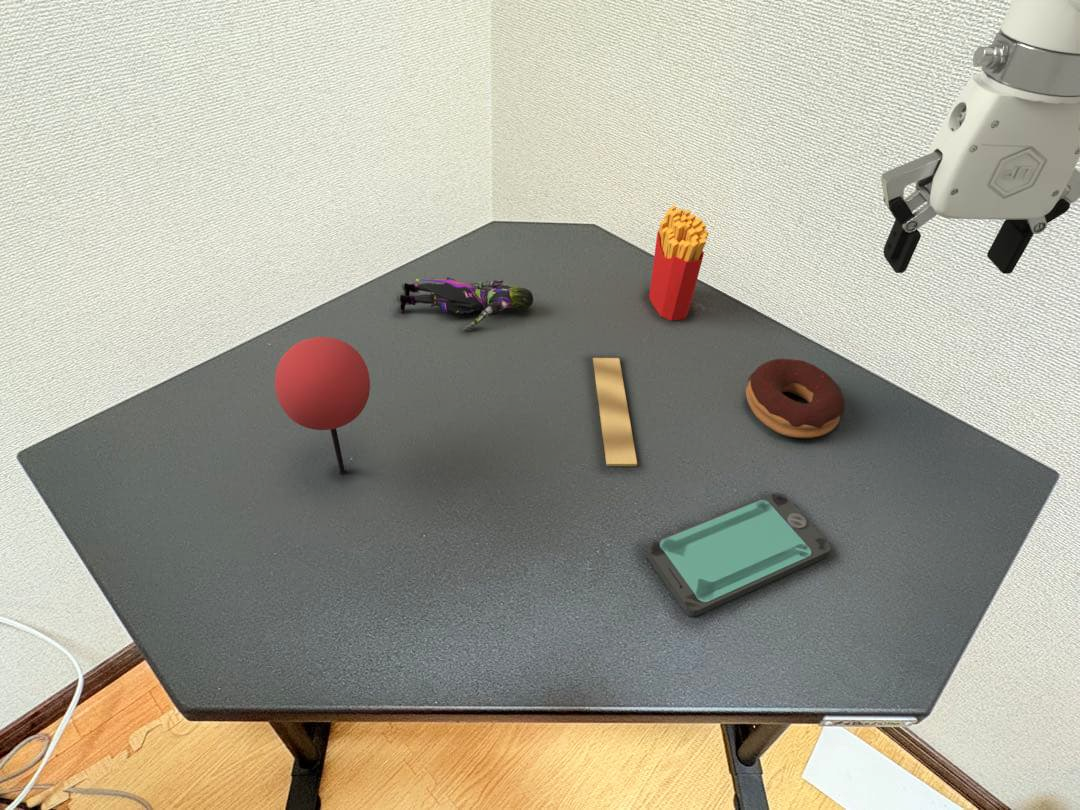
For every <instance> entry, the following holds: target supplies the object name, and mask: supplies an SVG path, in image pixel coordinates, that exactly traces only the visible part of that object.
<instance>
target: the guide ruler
mask: <svg viewBox="0 0 1080 810" xmlns="http://www.w3.org/2000/svg"><path fill="white" fill-rule="evenodd" d="M592 367H593V373H594V381H595V382H594V383H595V390H596V397H597V404H598V413H599V419H600V427H601V435H602V437H601V438H602V443H603V451H604V458H605V466H606V467H638V460H637V454H636V448H635V442H634V436H633V431H632V425H631V419H630V413H629V407H628V401H627V395H626V390H625V389H626V388H625V383H624V378H623V371H622V366H621V360H620V358H619V357H592Z"/></svg>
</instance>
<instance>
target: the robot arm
mask: <svg viewBox="0 0 1080 810" xmlns="http://www.w3.org/2000/svg"><path fill="white" fill-rule="evenodd" d="M972 65H973V66H974V67H981V71H980V73H975V74H972V75H971V77H970V78H969V80H968V82H967V83H966V84H965V85H964V87H963V88H962V90H961V92H960V93H959V95H958V96H957V97H956V99H955V101H954V102H953V104H952V105H951V107H950V109H949V111H948V113H947V114H946V116H945V118H944V120H943V122H941V125H940V127H939V129H938V131H937V133H936V134H935V137H934V139H933V141H932V143H931V145H930V147H929V148H928V151H927V154H926V155H924V156H921V157H919V158H916V159H913V160H912V161H909V162H906V163H904V164H902V165H899V166H896V167H894V168H891V169H889V170H887V171H884V173H883V174H882V175H881V177H880V183H881V189H882V194H883V203H884V204H885V206H886V207H887V209H888V210H889V211H890V213H891V215H892V217H893V218H894V222H893V225H892V227H891V230H890V231H889V234H888V237H887V239H886V242H885V244H884V247H883V257H884V259H885V260H886V262H887V263H888V264H889V265H890V267H891V268H892V270H893V271H894V273H895V274H903V273H905V272H906V271H907V269H908V266H909V264H910V262H911V260H912V258H913V256H914V253H915V251H916V249H917V246H918V245H919V242H920V239H921V237H922V233H921V232H920V231H919V230H918V229H920V228H921V227H922V226H924V225H925V224H926V223H928V222H929V221H930V220H932V219H933V218H935V217H936V216H937V215H938V216H940V217H942V218H945V219H953V220H997V221H998V220H999V221H1000V220H1001V221H1002V220H1004V221H1003V223H1002V225H1001V226H1000V228H999V230H998V232H997V234H996V235H995V238H994V239H993V242H992V244H991V246H990V247H989V249H988V251H987V254H986V256H987V258H988V259H989V260H990V262H991V263H992V264H993V265H994V266H995V267H996V268H997V269H998V270H999V272H1001V273H1002V274H1004V275H1010V274H1012V273H1013V271H1015V270H1014V269H1015V268H1016V266H1017V264H1018V263H1019V261H1020V259H1021V257H1022V256H1023V254H1024V252H1025V251H1026V249H1027V247H1028V245H1029V244H1030V241H1031V240H1032V238H1033V237H1034V235H1038V234H1041V233H1043V232H1044V231H1045V230H1046V229H1047V227H1048V224H1049V223H1050V222H1052V221H1054V220H1055V219H1057V218H1058V217H1060V216H1062V215H1063V214H1064V215H1065V213H1067V212H1068V211H1069V209H1070V207H1071V205H1072V203H1073V204H1074V203H1076V201H1078V199H1080V170H1078V169H1077V168H1076V166H1077V165H1078V162H1079V160H1080V0H1011V2H1010V4H1009V7H1008V9H1007V12H1006V13H1005V16H1004V19H1003V21H1002V22H1001V25H1000V28H999V30H998V32H996V34H995V36H994V39H993V41H992V43H991V44H989V45H988V46H979V47H978V48H976V49H975V52H974V53H973V56H972ZM914 183H915V191H913V192H912V193H910V194H909V195H908V196H907V197H905V196H904V195H905V193H904V192H905V189H906V187H907V186H909V185H913V184H914ZM923 204H924V205H923ZM922 205H923V206H922ZM919 207H920V208H919ZM915 210H916V211H915Z"/></svg>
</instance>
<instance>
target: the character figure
mask: <svg viewBox="0 0 1080 810" xmlns="http://www.w3.org/2000/svg"><path fill="white" fill-rule="evenodd" d="M419 281H421V279H420V278H416V279H415V283H408V282H407V283H406V282H402V284H401V288H402V290H403V294H398V295H397V302H398V311H399V313H404V312H405V311H406V309H405V308H406V305H407V306H416V304H425V305H426V304H428V305H429V304H430V305H429V306H430V308H433V307H435V306H436V307H438V308H439V311H440V312H443V313H444V314H446V313H456V314H460V315H463V314H464V313H466V314H470V313H473V312H476V311H477V312H478V311H481V313H480V314H479V315H478V316H477V317H476V318H475V319H474V320H473V321H472V322H471V323H469V324H468V325H465V326H464V328H463V329H462V330H463V331H469V330H472V329H473V328H474V327H475V326H476V325H479V324H480V323H481V322H482V321H483V320H485V319H486V318H487V317H489V315H490V314H495V313H497V314H500V315H501V311H503V310H504V309H514V308H515V309H517V308H518V309H523V310H526V309H529V308H530V307H531V306H533V303H534V295H533V293H532V291H531V290H530V289H528V288H526V287H525V288H524V287H520V286H517V285H509V284H506V283H505V284H504V280H497V279H496V280H495V279H494V280H493V281H482V282H481V281H474V283H471V284H469V283H465V282H462V281H459V280H456V279H454V278H453V277H446V278H443V279H442V278H423V279H422V282H423V281H425V282H424V283H418V282H419ZM432 282H433V283H432ZM483 288H491V289H489V290H485V289H483ZM419 291H421V292H427V293H430V294H427V293H426V294H420V292H419ZM410 293H412V295H410ZM417 293H418V294H419V295H413V294H417Z"/></svg>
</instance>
